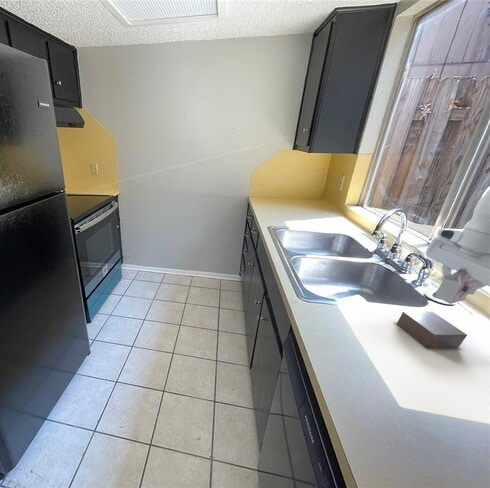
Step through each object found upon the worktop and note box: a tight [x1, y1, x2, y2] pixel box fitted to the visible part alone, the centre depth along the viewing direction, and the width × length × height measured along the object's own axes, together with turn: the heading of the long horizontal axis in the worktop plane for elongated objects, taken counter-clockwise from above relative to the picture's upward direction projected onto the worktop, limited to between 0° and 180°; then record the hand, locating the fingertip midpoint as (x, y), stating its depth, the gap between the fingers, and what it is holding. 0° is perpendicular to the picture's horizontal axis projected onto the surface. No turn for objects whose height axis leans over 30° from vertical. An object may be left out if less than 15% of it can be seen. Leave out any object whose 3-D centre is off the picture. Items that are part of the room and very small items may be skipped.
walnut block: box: [396, 311, 468, 349], centre depth 78 cm, size 10×10×5 cm
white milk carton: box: [433, 268, 475, 305], centre depth 71 cm, size 4×7×10 cm, turn 109°
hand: (455, 286), depth 72 cm, fingers closed on white milk carton, 4 cm apart
